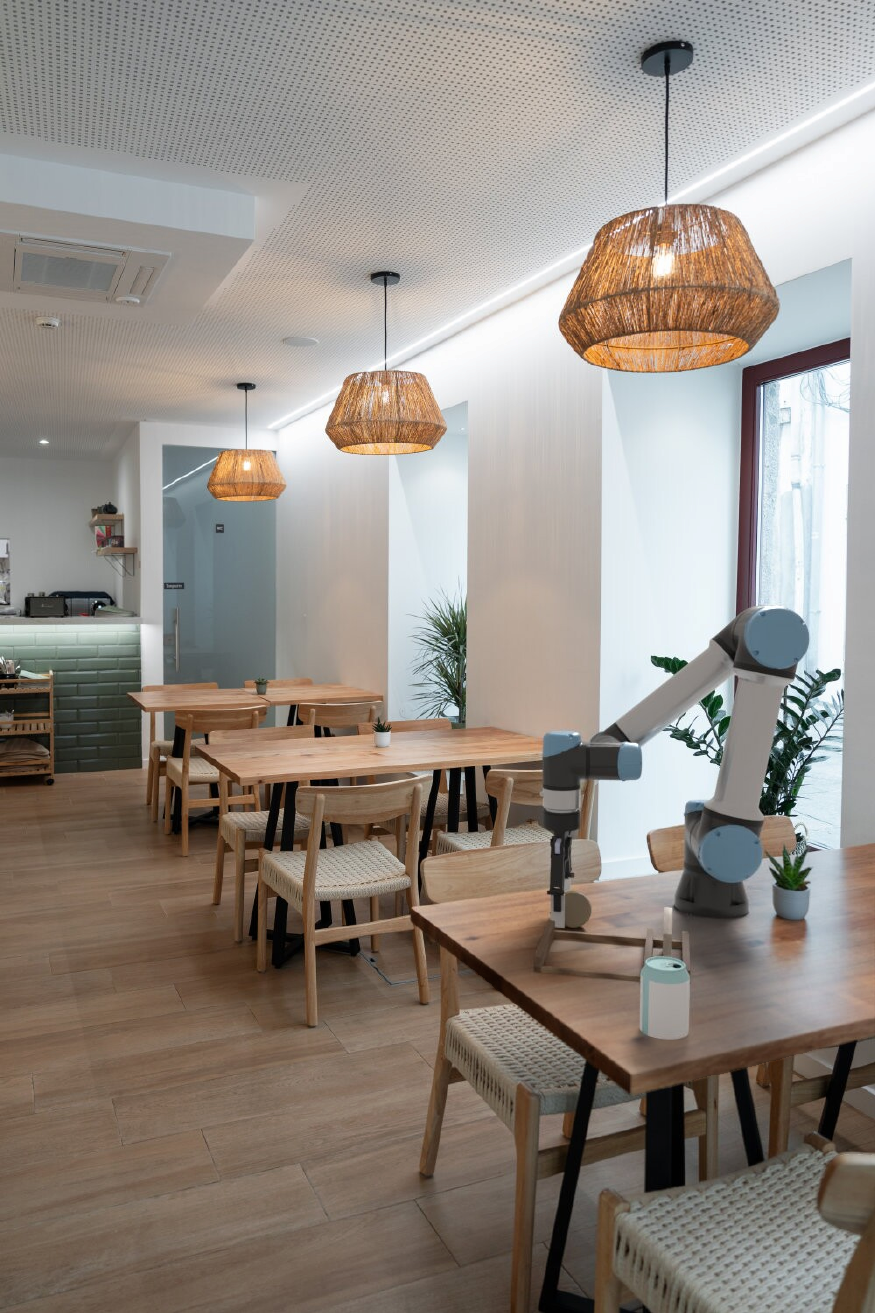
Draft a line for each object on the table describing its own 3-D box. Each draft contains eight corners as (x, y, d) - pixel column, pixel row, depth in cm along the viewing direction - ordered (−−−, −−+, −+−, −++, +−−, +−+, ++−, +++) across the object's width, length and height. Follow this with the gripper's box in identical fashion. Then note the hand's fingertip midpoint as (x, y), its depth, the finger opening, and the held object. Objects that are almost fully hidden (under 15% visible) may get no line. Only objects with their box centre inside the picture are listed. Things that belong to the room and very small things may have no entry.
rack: (688, 951, 183) (689, 905, 182) (690, 993, 163) (691, 941, 163) (548, 939, 189) (548, 894, 188) (533, 978, 170) (534, 928, 169)
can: (668, 1029, 150) (670, 951, 149) (698, 1049, 143) (700, 967, 143) (629, 1037, 147) (631, 958, 146) (658, 1057, 140) (659, 974, 140)
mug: (588, 911, 203) (600, 880, 197) (579, 948, 196) (591, 917, 190) (553, 899, 204) (564, 868, 198) (543, 935, 197) (554, 904, 191)
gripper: (549, 797, 209) (549, 900, 210) (534, 820, 187) (534, 935, 188) (585, 798, 207) (584, 902, 209) (574, 822, 185) (574, 938, 186)
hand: (560, 918), depth 198 cm, fingers closed on mug, 10 cm apart
